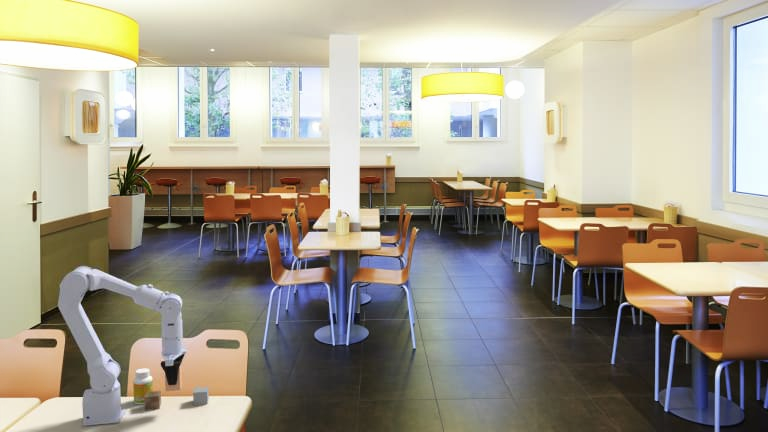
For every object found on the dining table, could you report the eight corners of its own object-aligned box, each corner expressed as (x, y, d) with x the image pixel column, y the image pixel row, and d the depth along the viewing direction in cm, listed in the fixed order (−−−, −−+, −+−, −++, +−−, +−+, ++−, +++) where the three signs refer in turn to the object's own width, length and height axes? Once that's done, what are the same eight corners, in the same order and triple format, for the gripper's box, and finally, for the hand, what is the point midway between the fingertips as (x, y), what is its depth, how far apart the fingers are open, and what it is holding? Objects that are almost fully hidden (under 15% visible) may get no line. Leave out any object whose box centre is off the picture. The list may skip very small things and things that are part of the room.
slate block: (193, 405, 168) (193, 392, 167) (195, 400, 172) (194, 387, 171) (207, 404, 169) (207, 391, 168) (208, 399, 172) (208, 386, 172)
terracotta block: (165, 391, 161) (164, 367, 160) (167, 386, 165) (167, 363, 164) (180, 390, 162) (179, 366, 161) (181, 384, 165) (181, 362, 165)
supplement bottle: (148, 405, 168) (147, 373, 167) (130, 404, 168) (129, 373, 167) (156, 397, 173) (155, 367, 172) (139, 397, 173) (138, 367, 173)
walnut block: (144, 410, 164) (144, 397, 164) (146, 405, 168) (146, 392, 168) (159, 409, 165) (159, 396, 165) (161, 403, 169) (160, 390, 169)
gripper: (183, 343, 156) (184, 390, 157) (189, 328, 170) (190, 371, 171) (156, 344, 154) (158, 392, 155) (165, 330, 168) (166, 373, 169)
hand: (173, 381), depth 163 cm, fingers closed on terracotta block, 4 cm apart
